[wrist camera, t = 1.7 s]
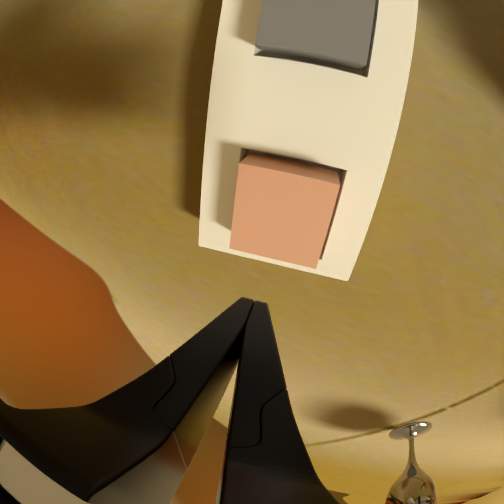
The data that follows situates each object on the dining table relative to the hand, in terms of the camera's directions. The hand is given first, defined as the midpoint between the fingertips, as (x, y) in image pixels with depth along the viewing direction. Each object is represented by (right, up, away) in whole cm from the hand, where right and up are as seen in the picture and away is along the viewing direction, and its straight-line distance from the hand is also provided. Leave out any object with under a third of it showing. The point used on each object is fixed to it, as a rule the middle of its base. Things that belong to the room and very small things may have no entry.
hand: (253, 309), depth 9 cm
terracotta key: (+2, +5, +8) cm, 9 cm away
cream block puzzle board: (+4, +15, +3) cm, 16 cm away
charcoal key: (+3, +14, +2) cm, 14 cm away
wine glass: (+25, -26, +24) cm, 43 cm away
